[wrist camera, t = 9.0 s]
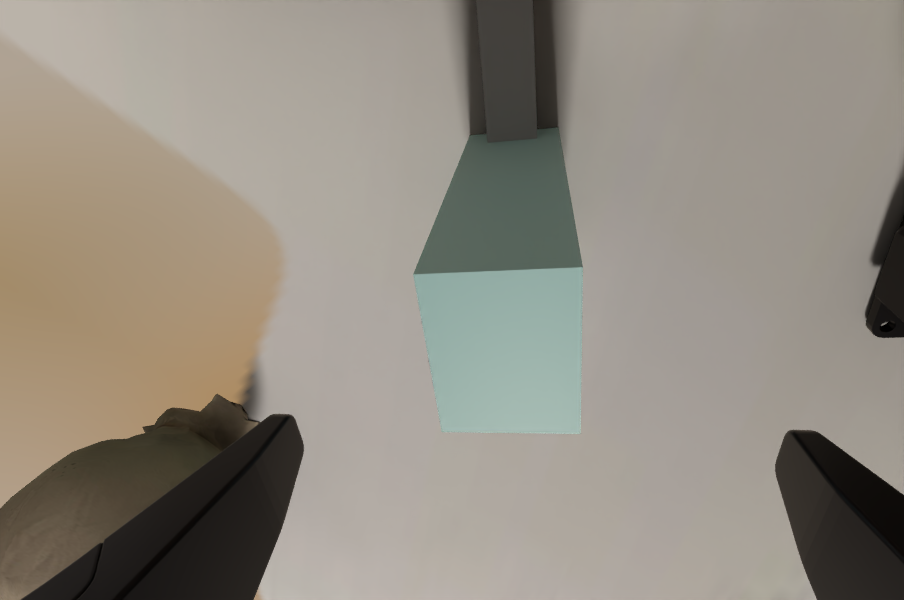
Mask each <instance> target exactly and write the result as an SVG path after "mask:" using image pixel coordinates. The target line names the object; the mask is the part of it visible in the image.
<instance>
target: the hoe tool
mask: <svg viewBox="0 0 904 600" xmlns="http://www.w3.org/2000/svg"><path fill="white" fill-rule="evenodd" d="M476 10H477V22H478V34H479V46H480V58H481V71H482V83H483V95H484V107H485V119H486V131H487V134H479V135H470V136H469V139H468V141H467V144H466V146H465V149H464V151H463V154H462V156H461V159H460V161H459V163H458V166H457V168H456V171H455V173H454V176H453V178H452V181H451V183H450V186H449V188H448V191H447V193H446V195H445V198H444V200H443V203H442V205H441V208H440V210H439V213H438V215H437V218H436V220H435V222H434V225H433V227H432V230H431V232H430V235H429V237H428V240H427V242H426V245H425V247H424V249H423V252H422V254H421V257H420V259H419V262H418V264H417V267H416V269H415V272H414V274H413V275H414V281H415V286H416V292H417V297H418V303H419V308H420V314H421V320H422V325H423V331H424V336H425V342H426V347H427V353H428V358H429V364H430V369H431V375H432V380H433V386H434V392H435V397H436V403H437V408H438V414H439V419H440V425H441V430H442V432H478V433H553V434H581V361H582V287H583V266H582V260H581V254H580V249H579V243H578V237H577V232H576V226H575V220H574V214H573V209H572V203H571V197H570V192H569V186H568V180H567V175H566V169H565V163H564V158H563V152H562V146H561V140H560V135H559V129H558V127H557V128H546V129H537V110H536V80H535V50H534V20H533V0H476Z"/></svg>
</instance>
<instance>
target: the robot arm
mask: <svg viewBox="0 0 904 600" xmlns="http://www.w3.org/2000/svg"><path fill="white" fill-rule="evenodd" d="M874 295H875V298H874V301H873V303H872V306H871V309H870V312H869V315H868V317H867V320H866V326H867V328H868V329H869V330H870V331H871V332H872V333H873V334H874V335H875V336H877V337H882V338H895V337H904V217H903V219H902V222H901V225H900V228H899V230H898V231H897V232H896V233H895V235H894V238H893V241H892V244H891V246H890V249H889V252H888V255H887V258H886V261H885V263H884V266H883V269H882V272H881V275H880V277H879V280H878V283H877V286H876V289H875V292H874ZM886 321H888V323H887V324H885V325H883V326H881V324H882V323H884V322H886ZM303 452H304V445H303V440H302V438H301V435H300V432H299V429H298V426H297V423H296V420H295V418H294V417H293V416H292V415H290V414H272V415H270V416H269V417H267V418H266V419H264V420H263V421H262V422H260V423H259V424H258V425H256V426H255V427H254V428H252V429H251V430H250V431H248V432H247V433H246V434H244V435H243V436H242V437H240V438H239V439H238V440H236V441H235V442H234V443H232V444H231V445H230V446H228V447H227V448H226V449H224V450H223V451H222V452H220V453H219V454H218V455H216V456H215V457H214V458H212V459H211V460H210V461H208V462H207V463H206V464H204V465H203V466H202V467H200V468H199V469H198V470H196V471H195V472H194V473H192V474H191V475H190V476H188V477H187V478H186V479H184V480H183V481H182V482H180V483H179V484H178V485H176V486H175V487H174V488H172V489H171V490H170V491H168V492H167V493H166V494H164V495H163V496H162V497H160V498H159V499H158V500H156V501H155V502H154V503H152V504H151V505H150V506H148V507H147V508H146V509H144V510H143V511H142V512H140V513H139V514H137V515H136V516H135V517H133V518H132V519H131V520H129V521H128V522H127V523H125V524H124V525H123V526H121V527H120V528H119V529H117V530H116V531H115V532H113V533H112V534H111V535H109V536H108V537H107V538H105V539H104V542H103V543H99V544H97V545H96V546H95V547H93V548H92V549H91V550H89V551H88V552H87V553H85V554H84V555H82V556H81V557H80V558H78V559H77V560H76V561H74V562H73V563H72V564H70V565H69V566H67V567H66V568H65V569H63V570H62V571H61V572H59V573H58V574H56V575H55V576H54V577H52V578H51V579H50V580H48V581H47V582H45V583H44V584H42V585H41V586H39V587H38V588H37V589H35V590H34V591H32V592H31V593H29V594H28V595H26V596H25V597H23V598H22V599H20V600H254V597H255V595H256V592H257V590H258V587H259V585H260V582H261V580H262V577H263V575H264V572H265V570H266V567H267V565H268V562H269V560H270V557H271V555H272V552H273V550H274V547H275V545H276V542H277V540H278V537H279V534H280V532H281V529H282V526H283V523H284V520H285V517H286V513H287V510H288V506H289V503H290V499H291V496H292V492H293V489H294V485H295V482H296V478H297V475H298V471H299V468H300V464H301V460H302V457H303ZM775 472H776V477H777V481H778V484H779V487H780V491H781V494H782V498H783V501H784V504H785V508H786V511H787V514H788V518H789V521H790V525H791V528H792V531H793V535H794V538H795V542H796V545H797V548H798V551H799V555H800V558H801V561H802V564H803V566H804V569H805V571H806V574H807V577H808V579H809V581H810V584H811V586H812V589H813V591H814V593H815V596H816V598H817V600H904V495H903V494H902V493H900V492H899V491H898V490H896V489H895V488H894V487H892V486H891V485H889V484H888V483H887V482H885V481H884V480H883V479H881V478H880V477H879V476H877V475H876V474H874V473H873V472H872V471H870V470H869V469H868V468H866V467H865V466H864V465H862V464H861V463H859V462H858V461H857V460H855V459H854V458H853V457H851V456H850V455H849V454H847V453H846V452H844V451H843V450H842V449H840V448H839V447H838V446H836V445H835V444H834V443H832V442H831V441H829V440H828V439H827V438H825V437H824V436H823V435H821V434H820V433H818V432H816V431H812V430H790V431H788V432H787V433H786V434H785V436H784V439H783V442H782V445H781V448H780V451H779V454H778V457H777V460H776V464H775Z"/></svg>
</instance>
